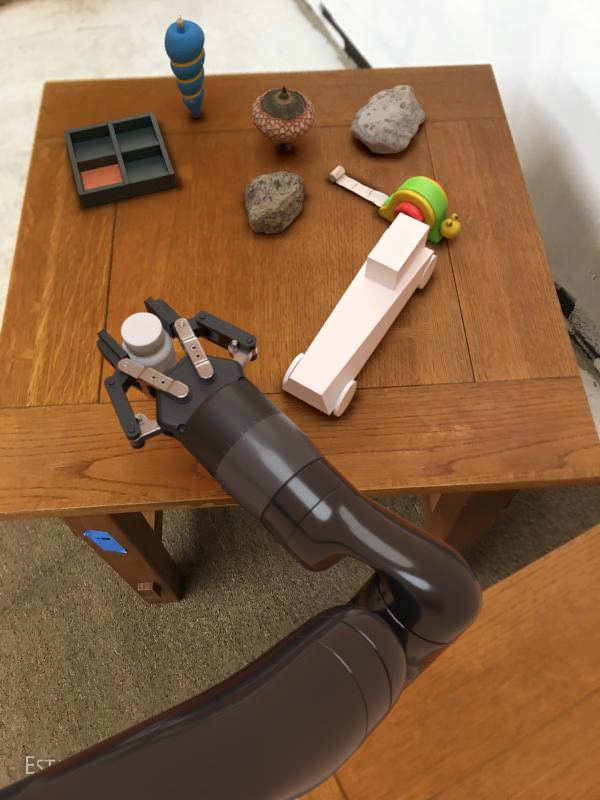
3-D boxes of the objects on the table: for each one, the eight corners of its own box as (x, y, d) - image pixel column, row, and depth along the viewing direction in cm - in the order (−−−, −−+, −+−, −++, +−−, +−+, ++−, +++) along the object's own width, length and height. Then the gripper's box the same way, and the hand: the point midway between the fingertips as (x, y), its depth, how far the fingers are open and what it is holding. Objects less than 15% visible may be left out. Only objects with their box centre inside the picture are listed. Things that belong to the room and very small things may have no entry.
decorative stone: (428, 162, 89) (436, 132, 85) (350, 162, 89) (353, 132, 84) (421, 102, 95) (427, 71, 90) (347, 102, 95) (350, 70, 90)
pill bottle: (174, 349, 62) (159, 301, 56) (186, 386, 60) (173, 341, 54) (129, 363, 62) (109, 315, 55) (141, 401, 60) (121, 357, 53)
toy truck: (386, 249, 82) (397, 195, 74) (436, 273, 80) (453, 221, 72) (278, 397, 72) (276, 353, 64) (333, 427, 70) (338, 387, 62)
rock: (307, 233, 83) (308, 207, 79) (246, 236, 83) (244, 210, 79) (303, 192, 86) (304, 165, 82) (244, 195, 86) (242, 168, 82)
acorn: (242, 148, 90) (236, 83, 81) (286, 120, 93) (285, 55, 84) (281, 180, 87) (280, 117, 78) (326, 151, 90) (329, 87, 81)
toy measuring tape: (440, 262, 81) (452, 225, 75) (318, 189, 86) (320, 149, 81) (467, 231, 83) (480, 193, 77) (347, 162, 89) (351, 122, 83)
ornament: (219, 109, 94) (207, 5, 80) (207, 133, 91) (192, 30, 78) (185, 102, 94) (167, -2, 81) (173, 126, 92) (152, 23, 79)
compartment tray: (83, 208, 85) (78, 195, 83) (68, 144, 90) (63, 130, 88) (177, 186, 86) (174, 173, 84) (156, 125, 92) (153, 111, 90)
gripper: (321, 374, 50) (182, 248, 56) (175, 494, 45) (40, 343, 51) (318, 417, 57) (194, 300, 62) (190, 526, 52) (69, 389, 58)
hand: (126, 320), depth 57 cm, fingers closed on pill bottle, 4 cm apart
